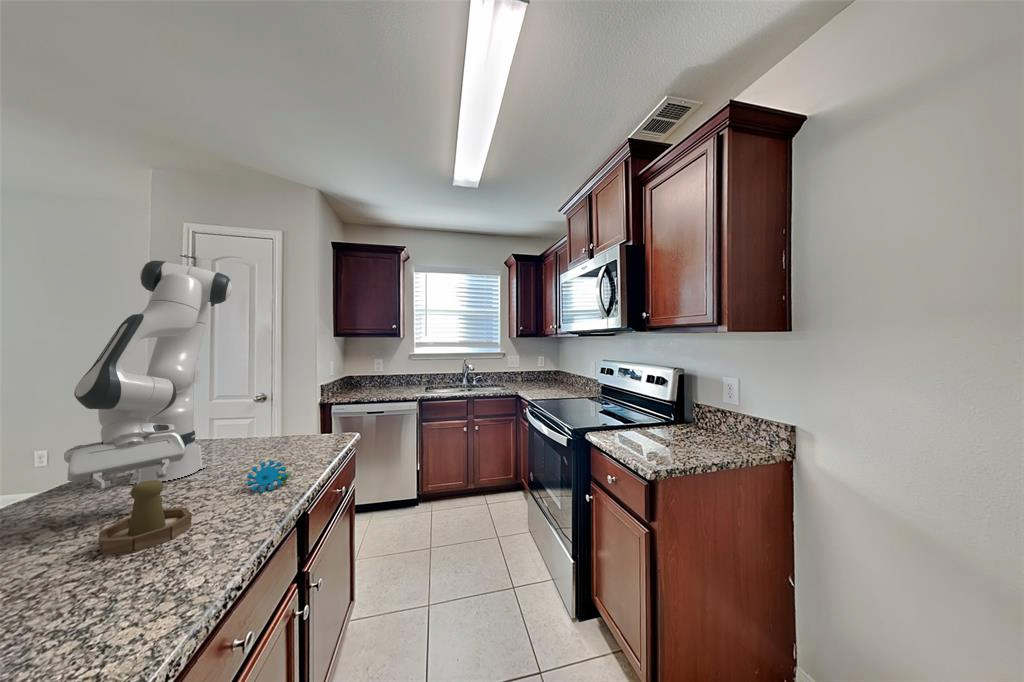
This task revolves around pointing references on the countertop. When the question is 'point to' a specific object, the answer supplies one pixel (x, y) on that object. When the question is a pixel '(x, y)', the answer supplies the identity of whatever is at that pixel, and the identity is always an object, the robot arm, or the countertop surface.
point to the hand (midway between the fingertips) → (135, 483)
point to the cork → (146, 508)
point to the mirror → (121, 543)
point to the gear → (267, 476)
